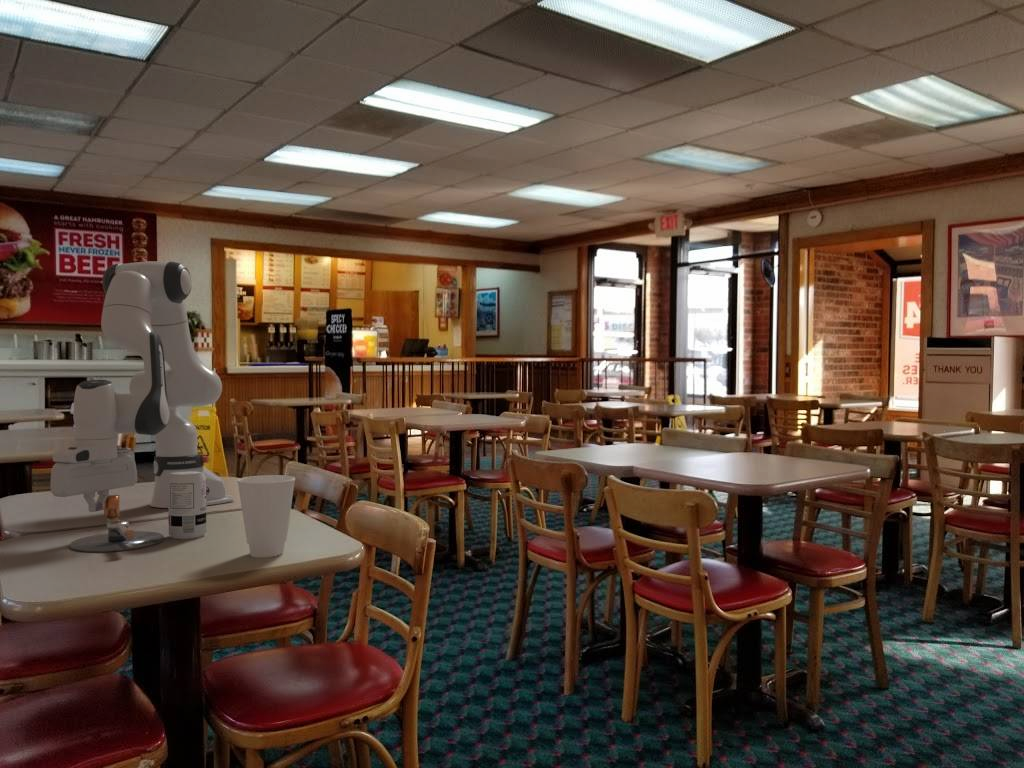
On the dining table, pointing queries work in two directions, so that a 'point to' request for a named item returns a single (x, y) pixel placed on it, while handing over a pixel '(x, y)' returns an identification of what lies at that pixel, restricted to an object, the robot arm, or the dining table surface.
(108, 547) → the dial plate
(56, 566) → the dining table surface
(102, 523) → the dining table surface
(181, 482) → the supplement can
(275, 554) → the cup
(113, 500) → the crank
